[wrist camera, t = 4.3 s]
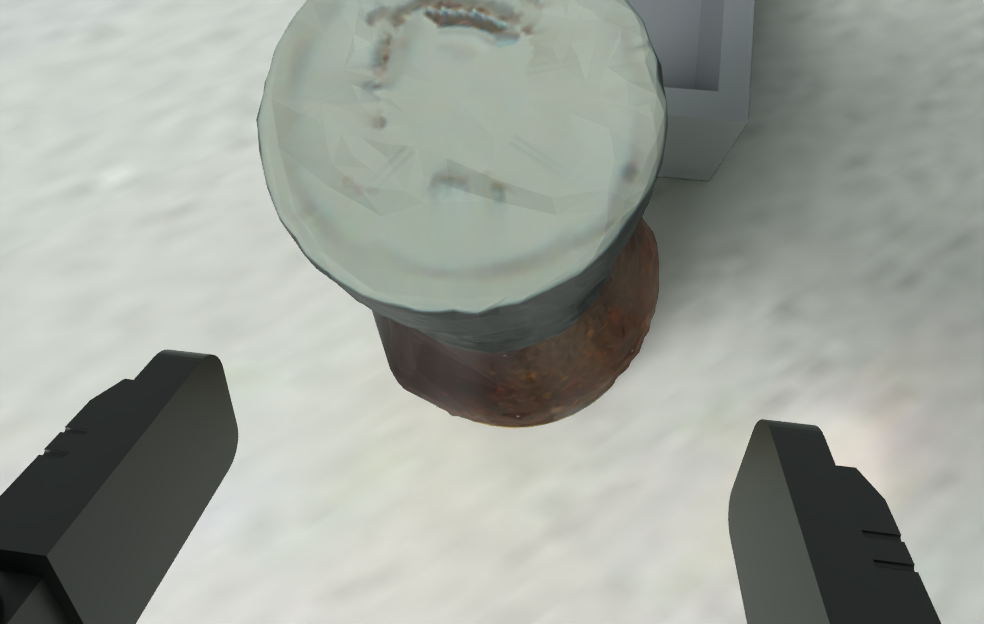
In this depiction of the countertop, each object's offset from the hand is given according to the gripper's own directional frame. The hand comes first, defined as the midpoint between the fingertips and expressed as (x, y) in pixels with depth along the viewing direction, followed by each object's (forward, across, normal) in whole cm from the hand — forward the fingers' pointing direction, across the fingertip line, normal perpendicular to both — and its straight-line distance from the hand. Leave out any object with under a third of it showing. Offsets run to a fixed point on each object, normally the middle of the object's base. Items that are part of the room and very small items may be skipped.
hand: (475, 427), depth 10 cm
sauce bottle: (+13, 0, +9) cm, 16 cm away
